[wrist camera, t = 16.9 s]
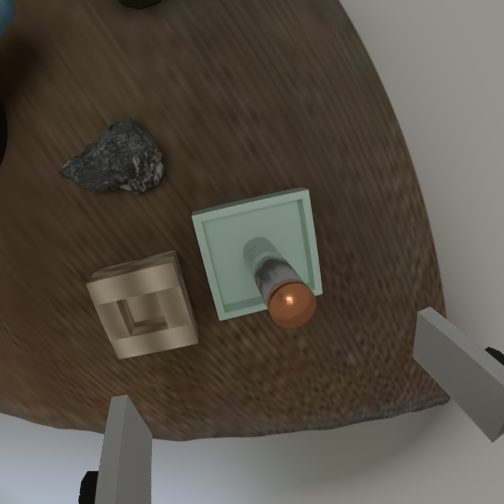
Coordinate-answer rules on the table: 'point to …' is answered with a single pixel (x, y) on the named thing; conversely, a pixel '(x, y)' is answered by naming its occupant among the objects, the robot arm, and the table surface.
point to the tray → (245, 229)
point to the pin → (279, 284)
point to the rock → (118, 161)
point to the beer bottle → (138, 3)
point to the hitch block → (144, 305)
